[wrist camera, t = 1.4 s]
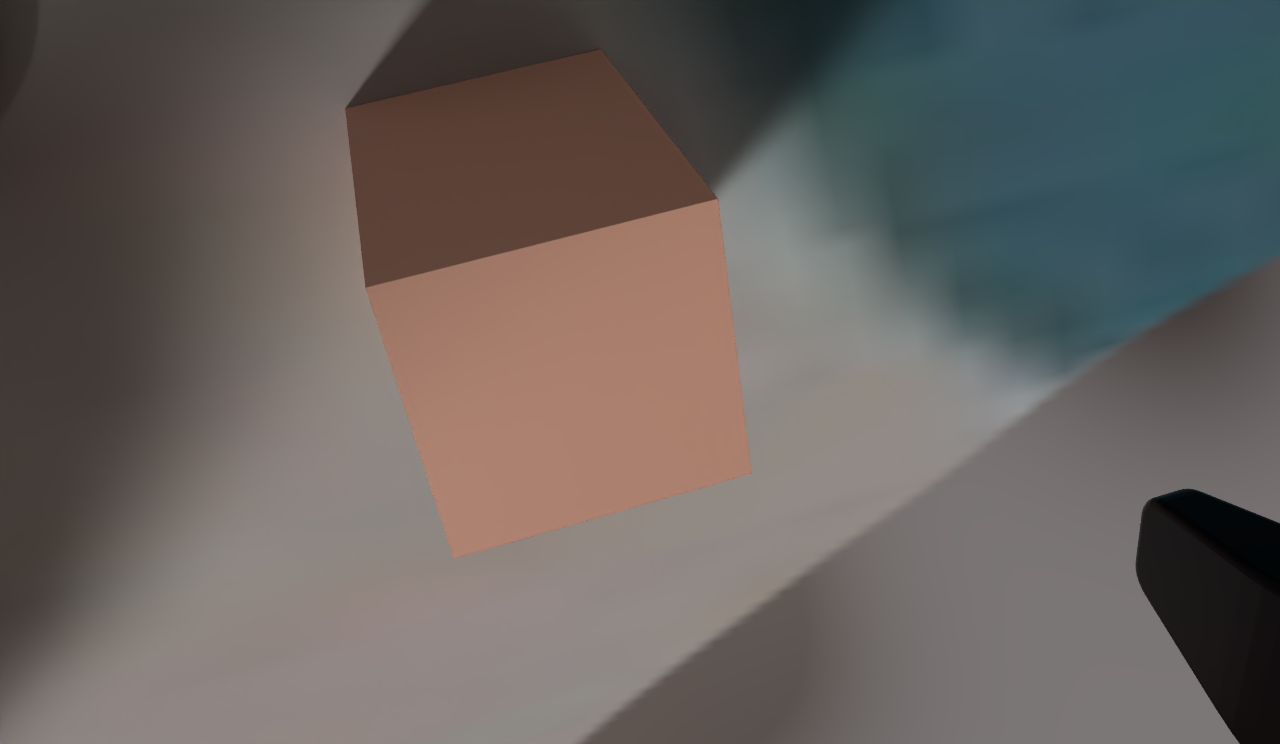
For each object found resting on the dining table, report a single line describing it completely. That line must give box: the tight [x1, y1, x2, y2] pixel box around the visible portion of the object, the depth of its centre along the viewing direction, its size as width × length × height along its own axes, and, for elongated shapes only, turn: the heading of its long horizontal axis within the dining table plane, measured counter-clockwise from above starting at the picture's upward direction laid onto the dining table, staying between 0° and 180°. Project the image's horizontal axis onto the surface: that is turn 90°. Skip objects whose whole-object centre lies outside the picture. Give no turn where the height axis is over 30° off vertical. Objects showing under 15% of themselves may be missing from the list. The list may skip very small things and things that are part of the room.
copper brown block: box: [345, 49, 751, 558], centre depth 16 cm, size 4×4×6 cm
